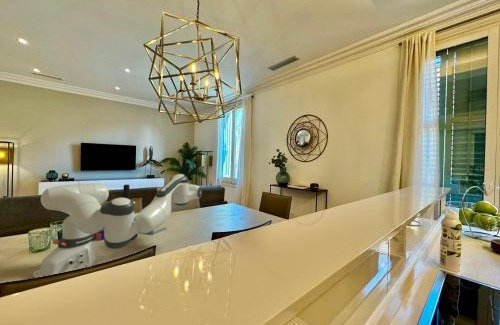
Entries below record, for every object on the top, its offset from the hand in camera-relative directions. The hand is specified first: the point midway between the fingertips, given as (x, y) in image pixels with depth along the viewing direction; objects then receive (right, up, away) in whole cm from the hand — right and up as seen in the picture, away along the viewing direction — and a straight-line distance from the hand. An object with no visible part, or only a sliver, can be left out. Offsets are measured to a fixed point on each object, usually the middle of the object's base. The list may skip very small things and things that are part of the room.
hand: (163, 188), depth 144 cm
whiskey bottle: (-31, -31, +10) cm, 45 cm away
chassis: (-11, -31, +9) cm, 34 cm away
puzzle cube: (-38, -31, -4) cm, 49 cm away
